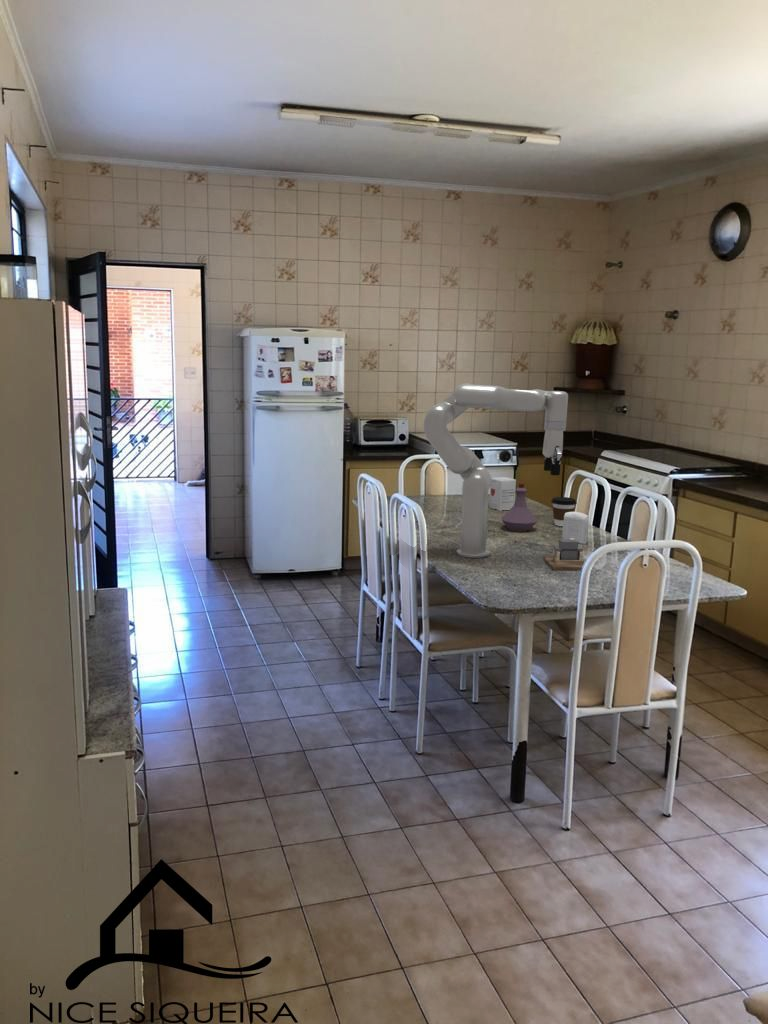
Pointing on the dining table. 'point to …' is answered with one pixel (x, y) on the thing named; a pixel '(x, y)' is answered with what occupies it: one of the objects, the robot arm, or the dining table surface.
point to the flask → (519, 513)
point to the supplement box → (502, 493)
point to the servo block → (568, 549)
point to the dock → (564, 562)
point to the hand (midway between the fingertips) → (551, 472)
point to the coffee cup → (562, 508)
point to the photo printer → (575, 526)
